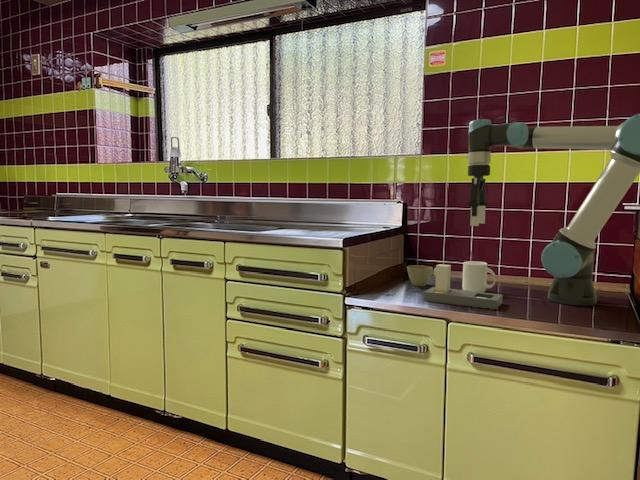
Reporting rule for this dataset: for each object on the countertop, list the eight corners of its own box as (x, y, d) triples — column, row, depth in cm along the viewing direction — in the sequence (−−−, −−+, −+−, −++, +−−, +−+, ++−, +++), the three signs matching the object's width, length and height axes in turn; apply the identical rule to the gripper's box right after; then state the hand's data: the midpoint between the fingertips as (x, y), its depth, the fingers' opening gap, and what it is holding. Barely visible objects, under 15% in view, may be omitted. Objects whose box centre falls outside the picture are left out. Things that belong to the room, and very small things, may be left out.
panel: (502, 303, 164) (502, 294, 164) (496, 309, 156) (497, 300, 155) (432, 294, 176) (432, 286, 176) (423, 300, 168) (424, 291, 167)
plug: (449, 299, 170) (450, 265, 169) (446, 301, 167) (447, 266, 165) (435, 297, 173) (436, 263, 171) (432, 299, 169) (433, 265, 168)
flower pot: (431, 288, 188) (431, 269, 187) (405, 286, 191) (405, 268, 190) (432, 283, 197) (433, 265, 197) (408, 281, 200) (408, 264, 199)
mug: (491, 295, 176) (493, 266, 175) (458, 291, 182) (460, 263, 181) (498, 291, 183) (499, 263, 182) (466, 287, 190) (467, 260, 188)
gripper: (474, 166, 185) (473, 222, 187) (461, 163, 163) (460, 226, 165) (495, 165, 182) (493, 222, 184) (484, 162, 160) (483, 227, 162)
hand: (477, 224), depth 174 cm, fingers open, 13 cm apart
